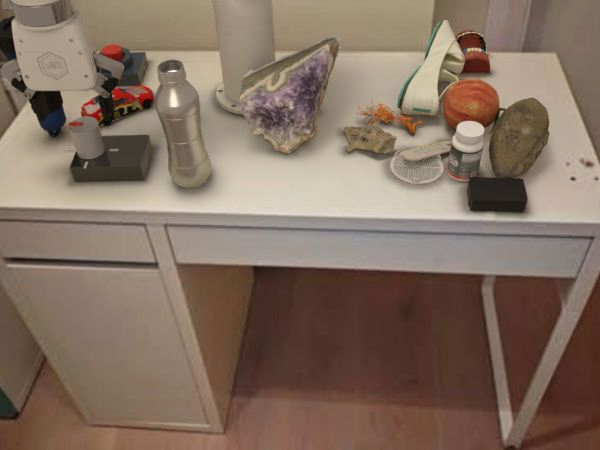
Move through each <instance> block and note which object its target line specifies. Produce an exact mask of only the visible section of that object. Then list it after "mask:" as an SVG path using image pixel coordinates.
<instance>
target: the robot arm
mask: <svg viewBox="0 0 600 450" xmlns="http://www.w3.org/2000/svg"><path fill="white" fill-rule="evenodd" d="M1 6H2V9H3V10H8V11H11V12H12V14H13V16H14V17H15V18H14V19H13V20H12V33H13V40H14V46H15V51H16V56H17V57H16V58H15V59H13V60H11V61H9V60H8V62H6V63H4V64H3V65H2V67H1V68H0V74H1V75H2V76H3V77H4V78H5V79H6V80H7V81H8V82H10V85H11V86H12V88H15V89H16V90H17V91H19V92H21V93H22V94H23V97H24V98H26V99H27V100H28V99H29V100H30V102H29V104H30V103H31V104H30V107H31V106H32V108H31V110H32V109H33V110H32V111H33V113H34V114H35V115H36V114H37V116H36V118H37V117H38V118H37V121H38V120H39V121H38V123H39V122H43V121H45V119H46V117H47V115H48V113H49V107H48V104H47V101H46V98H45V95H44V92H43V91H60V92H80V91H82V92H83V91H89V90H93V91H94V92H95V93H97V94H98V95H100V96H99V98H98V101H99V105H100V108H101V112H102V116H103V120H105V121H109V119H110V117H111V114H112V113H114V111H115V105H114V100H113V96H112V91H113V90H114V89H115V88H118V86H117V85H118V83H119V80H120V78H121V75H122V72H123V69H124V65H123V64H122V63H120V62H118V61H115V60H113V59H110V58H108V57H105V56H103V55H100V54H98V53H99V52H98V50H97V48H96V45H95V42H94V39H93V37H92V34H91V31H90V29H89V28H88V25H87V22H86V20H85V19H84V17H83V14H82V13H81V11H80V10H77V9H76V8H75V5H74V1H73V0H1ZM212 6H213V14H214V22H215V23H214V24H215V31H216V38H217V46H218V54H219V62H220V69H221V77H222V82H221V83H220V84H219V85H218V86H217V87H216V91H215V97H216V102H217V104H218V105H219V106H220V107H221V108H222V109H224V110H225V111H227V112H229V113H232V114H236V115H243V113H242V110H241V106H240V93H241V88H242V82H243V79H244V78H243V77H244V76H245V74H246V73H247V72H249V71H250V70H252V69H253V70H254V71H255V70H258V69H259V68H260V67H263V66H264V65H266V64H268V63H271V62H273V61H277V60H276V46H275V33H274V32H275V30H274V16H273V14H274V12H273V0H212ZM101 68H103V69H106V70H108V71H110V72H111V73H112V76H111V77H110V78H109V79H107V78H106V77H105V76H103V75H102V74H101ZM18 69H20V70H18ZM17 71H19V72H20V71H21V73H20V74H19V73H18V72H17ZM21 75H22V76H21ZM29 100H28V101H29ZM243 116H244V115H243Z"/></svg>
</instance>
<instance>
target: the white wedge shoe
mask: <svg viewBox="0 0 600 450" xmlns="http://www.w3.org/2000/svg"><path fill="white" fill-rule="evenodd" d="M455 37H456V35H455V34H454V31H453V29H452V27H451V25H450V23H449V20H448V19H444V20H442V21H439V22H438V23H437V24H436V25H435V27H434V29H433V31H432V33H431V36H430V38H429V41H428V44H427V47H426V51H425V54H424V59H423V62H422V64H421V65H419V66H418V67H417V69H415V71H414V72H412V74H410V76H409V77H408V78H407V79H406V81H405V82H404V84H403V85H402V88H401V89H400V92H399V95H398V98H397V104H396V107H397V109H400V111H401V113H402V115H407V116H411V115H412V116H416V115H422V116H436V115H437V114H438V111H439V107H440V104H443V102H444V97H445V94H446V91H447V89H448V88H449V87H450V86H451V85H453V84H454V83H456V82H457V81H460V79H459V76H460V75H461V74H462V73H461V72H462V70H463V67H464V63H465V56H464V54H463V53H462V51H461V49H460V46H459V44H458V42H457V39H456V38H455ZM442 82H443V83H445V82H450V84H449V85H447V86H446V88H445V89H444V90H443V91H442V92H441V94H440V95H439V90H438V86H439V83H442Z"/></svg>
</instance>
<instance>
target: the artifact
mask: <svg viewBox="0 0 600 450" xmlns="http://www.w3.org/2000/svg"><path fill="white" fill-rule="evenodd" d="M376 122H377V121H376ZM376 122H375V121H373V122H372V123H371V124H370V123H369V124H368V125H364V126H345V127H344V128H343V132H342V133H344V134H345V136H346V140H347V142H349V145H347V146H346V147H345V150H346V152H348V153H349V152H352V151H354V150H356V149H359V150H363V151H367V152H375V153H377V154H387V153H391V152H392V151H393V148H394V146H395V143H396V140H397V139H398V138H397V136H396V135H392V134H391V133H390V132H386V131H384V129H383V128H381V127H379V126H378V123H376Z"/></svg>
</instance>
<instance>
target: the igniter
mask: <svg viewBox="0 0 600 450" xmlns="http://www.w3.org/2000/svg"><path fill="white" fill-rule="evenodd" d="M121 48H122V52H123V58H122V59H120V60H118V62H120V63H122V64H123V65H124V69H123V72H122V75H121V78H120V80H119V83H118V85H117V87H119V86H120V87H121V86H122V87H123V86H125V87H126V86H142V81H143V78H144V75H145V72H146V70H147V66H148V58H147V54H146V52H145V51H134V52H133V51H132V52H131V50H130V49H129V48H127V47H123V46H121ZM97 53H98V54H100V55H103V54H102V50H101V51H99V52H97ZM101 74H102V75H103V76H105V77H106V78H107V79H109V78H110V77H111V76H112V73H111V72H110V71H108V70H106V69H103V68H101Z"/></svg>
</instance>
